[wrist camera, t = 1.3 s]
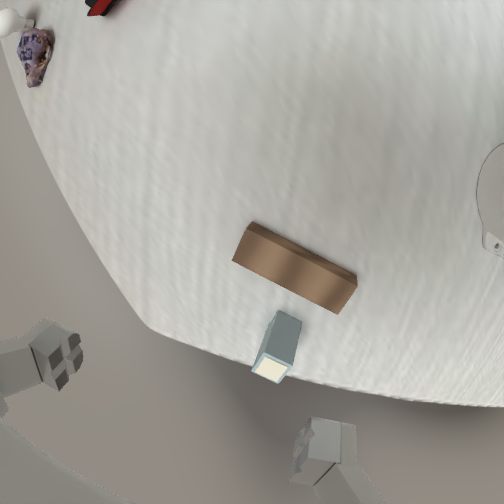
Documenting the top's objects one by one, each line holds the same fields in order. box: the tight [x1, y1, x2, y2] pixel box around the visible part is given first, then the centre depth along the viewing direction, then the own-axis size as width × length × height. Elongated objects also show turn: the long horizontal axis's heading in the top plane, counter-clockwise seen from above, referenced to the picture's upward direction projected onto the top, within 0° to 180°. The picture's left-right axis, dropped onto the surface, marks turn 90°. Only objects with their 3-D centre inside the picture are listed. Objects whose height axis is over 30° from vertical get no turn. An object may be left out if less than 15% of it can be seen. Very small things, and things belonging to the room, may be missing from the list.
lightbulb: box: [0, 8, 34, 38], centre depth 32 cm, size 6×6×11 cm
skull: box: [17, 28, 52, 88], centre depth 37 cm, size 12×8×6 cm, turn 166°
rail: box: [232, 222, 358, 315], centre depth 42 cm, size 16×5×3 cm, turn 66°
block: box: [251, 310, 302, 384], centre depth 42 cm, size 4×4×10 cm
